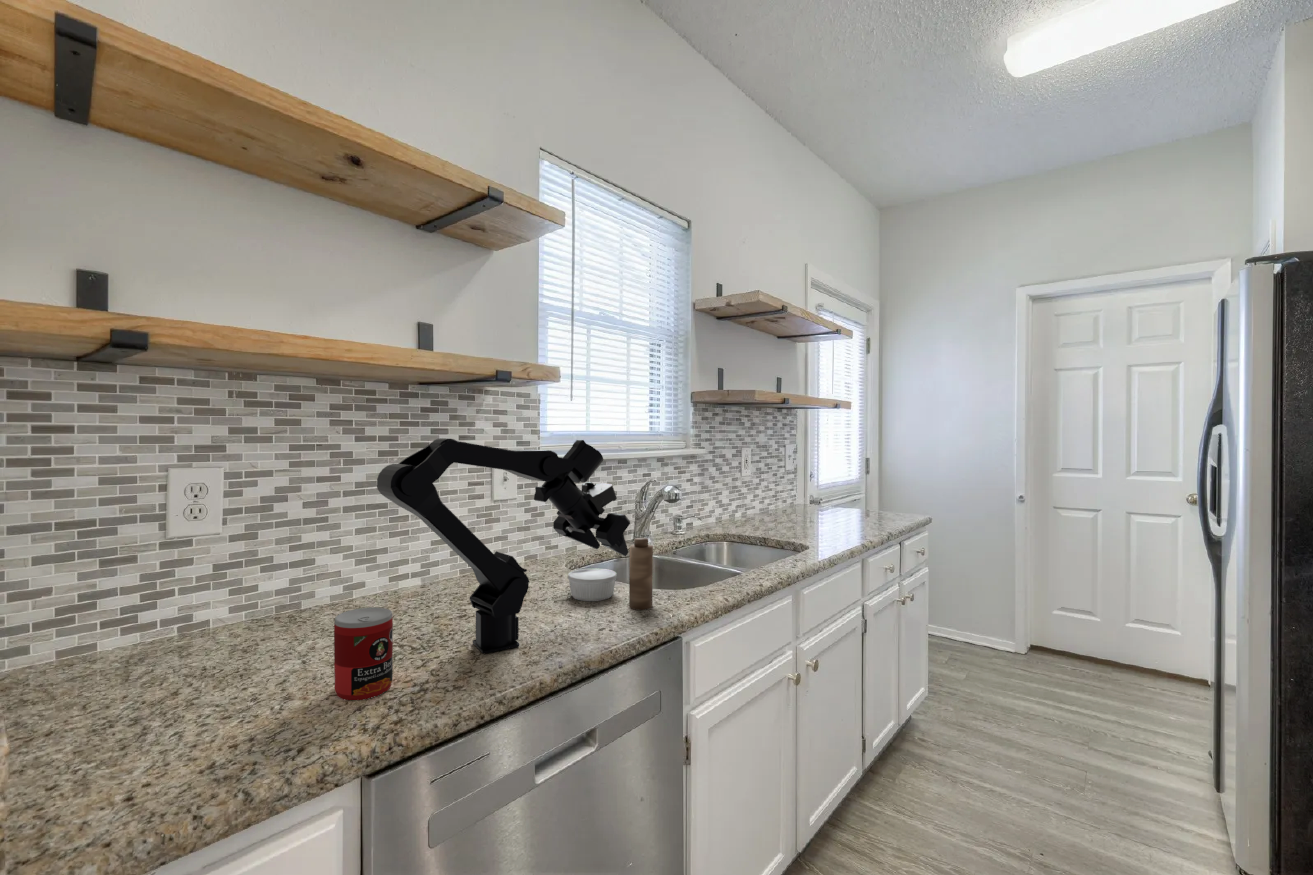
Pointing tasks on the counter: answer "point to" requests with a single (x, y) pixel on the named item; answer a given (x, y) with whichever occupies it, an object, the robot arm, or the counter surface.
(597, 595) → the ramekin
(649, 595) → the pepper mill
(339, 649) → the canned food
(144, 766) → the counter surface
